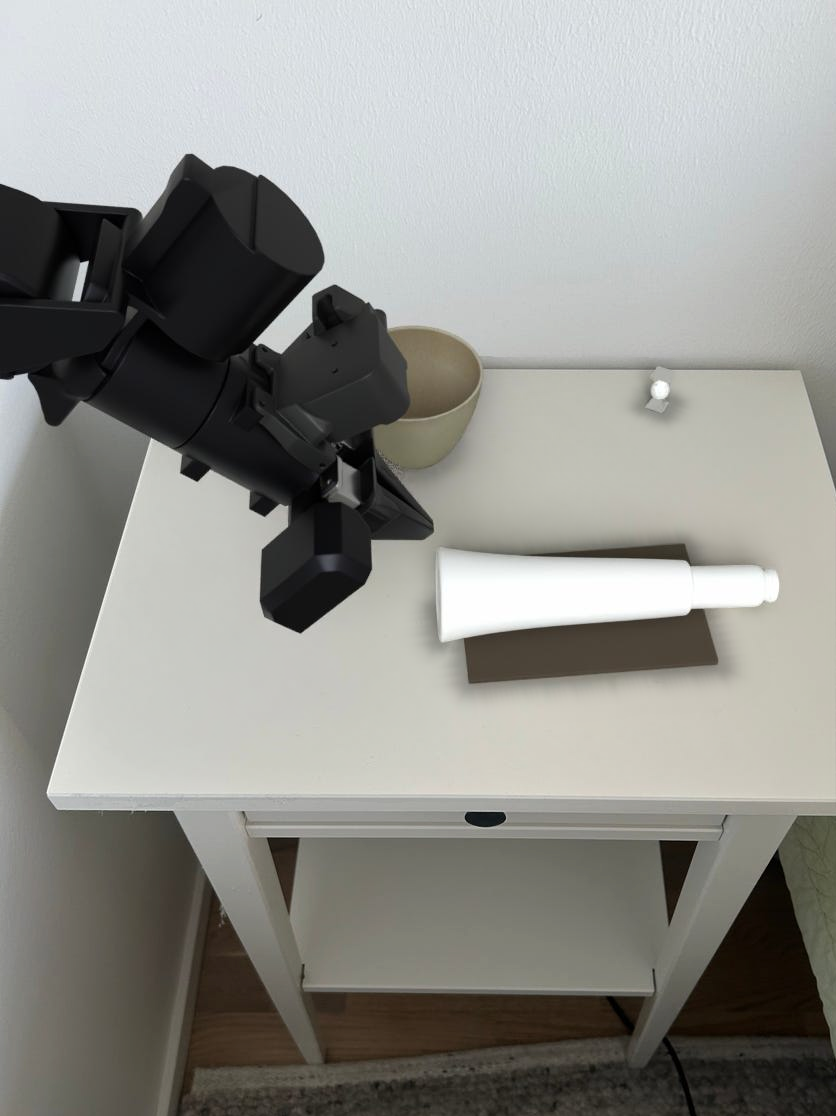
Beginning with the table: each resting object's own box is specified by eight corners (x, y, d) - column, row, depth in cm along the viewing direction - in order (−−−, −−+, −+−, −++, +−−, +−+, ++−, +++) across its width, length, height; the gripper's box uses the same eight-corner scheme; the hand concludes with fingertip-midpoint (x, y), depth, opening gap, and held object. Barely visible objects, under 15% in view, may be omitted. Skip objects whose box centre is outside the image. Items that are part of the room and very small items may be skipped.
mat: (469, 684, 63) (469, 680, 63) (455, 563, 69) (455, 559, 69) (717, 664, 64) (718, 661, 64) (683, 547, 70) (684, 543, 70)
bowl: (323, 462, 75) (311, 386, 69) (397, 386, 80) (391, 309, 74) (437, 513, 72) (434, 438, 66) (506, 430, 77) (509, 354, 71)
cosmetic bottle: (439, 660, 65) (770, 648, 67) (442, 607, 59) (800, 596, 62) (434, 584, 68) (749, 575, 70) (436, 527, 63) (776, 519, 65)
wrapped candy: (669, 402, 79) (676, 371, 76) (662, 413, 78) (668, 383, 76) (652, 396, 79) (657, 365, 77) (644, 407, 79) (650, 376, 76)
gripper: (294, 433, 40) (553, 587, 49) (298, 178, 51) (509, 345, 60) (145, 574, 46) (402, 686, 55) (177, 318, 57) (388, 450, 66)
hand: (429, 531), depth 59 cm, fingers closed
